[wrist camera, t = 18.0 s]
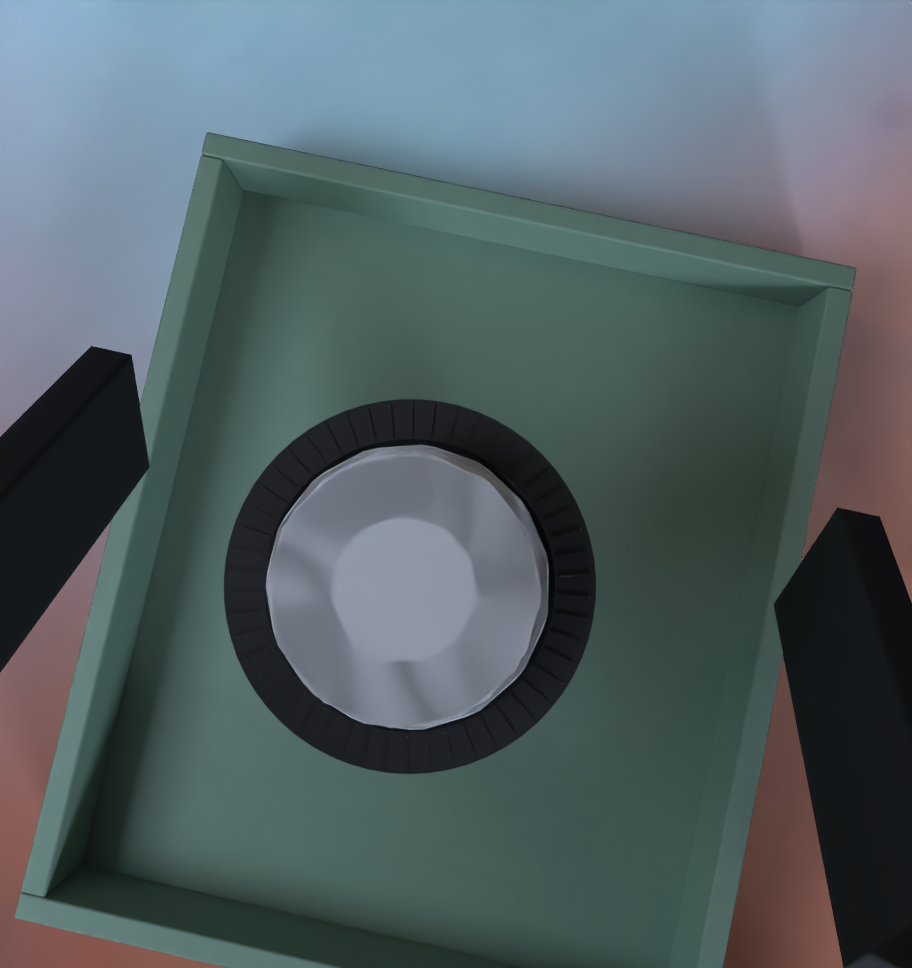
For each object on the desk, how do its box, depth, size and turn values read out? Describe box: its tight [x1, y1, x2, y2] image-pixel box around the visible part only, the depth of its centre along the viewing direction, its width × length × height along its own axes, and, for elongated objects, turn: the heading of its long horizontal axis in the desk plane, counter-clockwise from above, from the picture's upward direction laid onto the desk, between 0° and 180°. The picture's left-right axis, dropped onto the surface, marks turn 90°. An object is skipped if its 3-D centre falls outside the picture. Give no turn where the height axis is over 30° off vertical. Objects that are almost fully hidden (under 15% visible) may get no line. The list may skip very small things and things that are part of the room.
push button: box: [224, 399, 596, 774], centre depth 15 cm, size 7×5×10 cm
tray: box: [15, 132, 856, 968], centre depth 19 cm, size 19×16×2 cm
